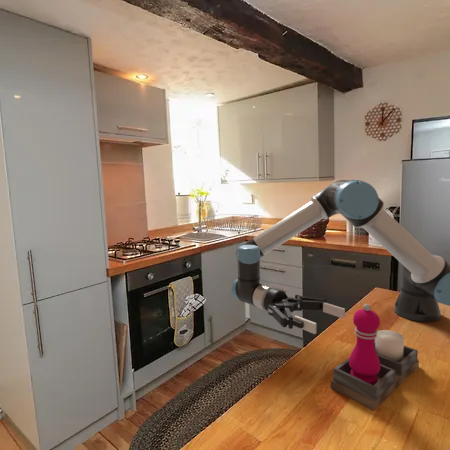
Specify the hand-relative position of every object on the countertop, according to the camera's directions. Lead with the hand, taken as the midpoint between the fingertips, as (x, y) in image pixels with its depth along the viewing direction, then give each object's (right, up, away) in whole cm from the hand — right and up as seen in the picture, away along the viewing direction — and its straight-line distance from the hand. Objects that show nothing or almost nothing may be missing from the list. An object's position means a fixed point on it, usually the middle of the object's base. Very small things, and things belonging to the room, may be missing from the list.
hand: (330, 320), depth 88 cm
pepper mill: (+6, -13, -5) cm, 16 cm away
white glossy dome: (+17, -12, +3) cm, 21 cm away
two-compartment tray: (+12, -15, -1) cm, 19 cm away
